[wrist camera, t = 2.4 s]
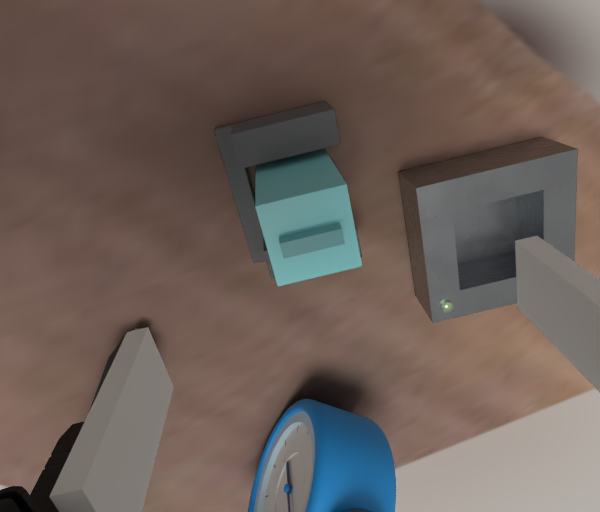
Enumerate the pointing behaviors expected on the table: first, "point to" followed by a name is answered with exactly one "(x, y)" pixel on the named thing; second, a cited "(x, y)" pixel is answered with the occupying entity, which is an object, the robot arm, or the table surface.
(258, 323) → the table surface
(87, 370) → the table surface
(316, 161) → the plug
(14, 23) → the table surface
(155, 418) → the robot arm
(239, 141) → the grey u-shaped bracket
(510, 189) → the port panel
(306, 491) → the alarm clock
